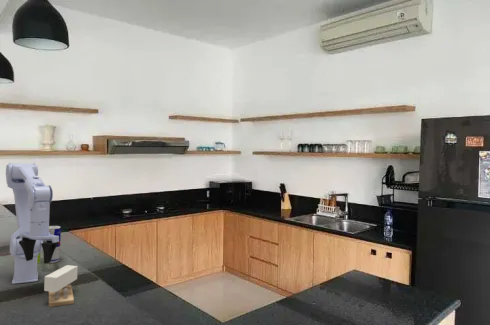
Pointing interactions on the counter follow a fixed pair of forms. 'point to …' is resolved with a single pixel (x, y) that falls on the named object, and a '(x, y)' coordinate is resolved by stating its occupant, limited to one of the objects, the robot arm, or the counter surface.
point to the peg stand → (61, 297)
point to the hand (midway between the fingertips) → (38, 261)
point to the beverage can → (56, 255)
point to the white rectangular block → (60, 278)
